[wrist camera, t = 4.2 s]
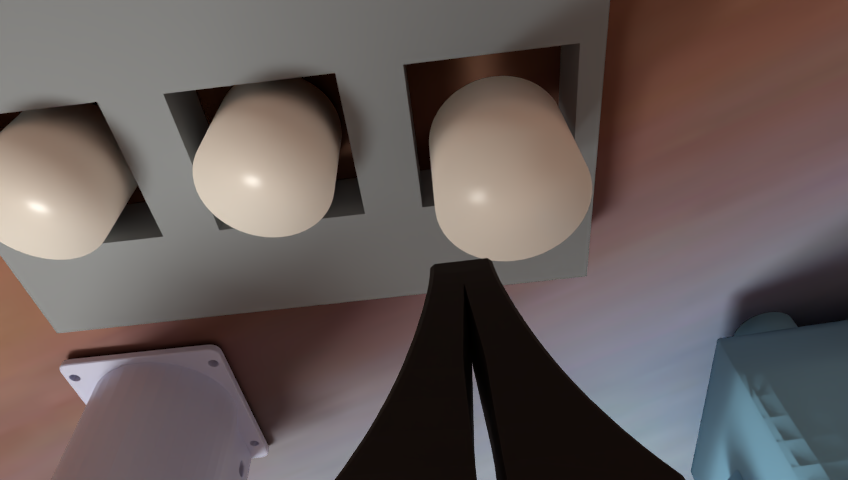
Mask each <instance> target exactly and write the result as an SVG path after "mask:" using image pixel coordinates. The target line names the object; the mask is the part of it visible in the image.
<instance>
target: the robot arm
mask: <svg viewBox="0 0 848 480" xmlns="http://www.w3.org/2000/svg"><path fill="white" fill-rule="evenodd" d="M214 360H215V361H214ZM472 364H473V369H474V373H475V378H476V382H477V386H478V391H479V395H480V400H481V404H482V408H483V413H484V417H485V421H486V426H487V430H488V435H489V439H490V443H491V448H492V453H493V459H494V464H495V471H496V479H497V480H685V478H684V477H683V476H682V475H681V474H680V473H678V472H677V471H676V470H674V469H673V468H671V467H670V466H669V465H667V464H666V463H665V462H663V461H662V460H661V459H659V458H658V457H657V456H655V455H654V454H653V453H651V452H650V451H649V450H648V449H646V448H645V447H644V446H642V445H641V444H640V443H639V442H638V441H636V440H635V439H634V438H633V437H632V436H630V435H629V434H628V433H627V432H626V431H624V430H623V429H622V428H621V427H620V426H619V425H618V424H616V423H615V422H614V421H613V420H612V419H611V418H610V417H609V416H608V415H607V414H606V413H605V412H603V411H602V410H601V409H600V408H599V407H598V406H597V405H596V404H595V403H594V402H593V401H592V400H590V399H589V398H588V397H587V396H586V395H585V393H584V392H583V391H582V390H581V389H580V388H579V387H578V386H577V385H576V384H575V383H574V382H573V381H572V380H571V379H570V378H569V377H568V375H567V374H566V373H565V372H564V371H563V370H562V369H561V368H560V366H559V365H558V364H557V363H556V362H555V361H554V359H553V358H552V357H551V356H550V354H549V353H548V352H547V351H546V349H545V348H544V347H543V346H542V344H541V343H540V342H539V340H538V339H537V338H536V336H535V335H534V334H533V332H532V331H531V329H530V328H529V327H528V325H527V324H526V322H525V321H524V319H523V318H522V316H521V315H520V313H519V312H518V310H517V309H516V307H515V306H514V304H513V302H512V301H511V299H510V297H509V295H508V294H507V292H506V290H505V288H504V287H503V285H502V283H501V281H500V279H499V277H498V275H497V272H496V270H495V268H494V265H493V262H492V261H491V260H490V259H488V258H483V259H474V260H465V261H456V262H447V263H438V264H434V265H433V266H432V267H431V268H430V278H429V285H428V290H427V295H426V299H425V303H424V307H423V310H422V313H421V317H420V320H419V323H418V326H417V329H416V332H415V335H414V338H413V341H412V343H411V346H410V348H409V351H408V353H407V356H406V358H405V361H404V363H403V366H402V368H401V370H400V372H399V375H398V377H397V379H396V381H395V383H394V385H393V387H392V389H391V391H390V393H389V395H388V397H387V399H386V401H385V403H384V405H383V406H382V408H381V410H380V412H379V413H378V415H377V417H376V419H375V421H374V422H373V424H372V426H371V427H370V429H369V431H368V432H367V434H366V435H365V437H364V438H363V440H362V441H361V443H360V444H359V446H358V447H357V449H356V450H355V452H354V453H353V455H352V456H351V458H350V459H349V461H348V462H347V464H346V465H345V467H344V468H343V469H342V471H341V472H340V473H339V475H338V476H337V477H336V479H335V480H477V477H476V468H475V454H474V423H473V382H472ZM60 372H61V373H62V374H63V376H64V377H65V378H66V379H67V381H68V382H69V383H70V385H71V386H72V387H73V389H74V390H75V391H76V392H77V394H78V395H79V396H80V398H81V399H82V400H83V402H84V403H85V404H86V407H85V409H84V411H83V413H82V415H81V418H80V420H79V422H78V424H77V426H76V428H75V430H74V432H73V434H72V436H71V439H70V441H69V443H68V445H67V447H66V449H65V451H64V453H63V455H62V457H61V459H60V462H59V464H58V466H57V468H56V470H55V472H54V474H53V476H52V478H51V480H247V478H248V473H249V468H250V463H251V458H259V457H264V456H266V455H267V454H268V451H269V446H268V444H267V442H266V440H265V438H264V436H263V434H262V432H261V430H260V428H259V426H258V424H257V422H256V420H255V418H254V416H253V413H252V411H251V409H250V407H249V405H248V403H247V401H246V399H245V397H244V395H243V393H242V391H241V389H240V387H239V385H238V383H237V381H236V379H235V377H234V375H233V372H232V370H231V368H230V366H229V364H228V362H227V360H226V358H225V356H224V354H223V352H222V350H221V349H220V348H219V347H218V346H216V345H199V346H190V347H181V348H171V349H162V350H152V351H143V352H133V353H124V354H115V355H105V356H96V357H86V358H77V359H68V360H65V361H63V362H62V364H61V366H60Z"/></svg>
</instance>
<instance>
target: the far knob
mask: <svg viewBox="0 0 848 480" xmlns="http://www.w3.org/2000/svg"><path fill="white" fill-rule="evenodd" d="M137 186H138V184H137V182H136V180H135V178H134V176H133V174H132V172H131V170H130V168H129V166H128V164H127V162H126V160H125V158H124V156H123V154H122V152H121V149H120V147H119V145H118V143H117V141H116V139H115V137H114V135H113V133H112V131H111V129H110V127H109V125H108V123H107V121H106V119H105V117H104V115H103V113H102V111H101V109H100V107H98V106H96V105H93V104H91V103H84V104H76V105H67V106H59V107H51V108H43V109H35V110H26V111H22V112H21V113H20V114H19V115H18V116H17V117H16V118H15V119H14V120H13V121H11V122H10V123H9V124H8V125H7V126H6V127H5V128H4V129H3V130H2V131H1V132H0V242H1V243H3V244H5V245H6V246H8V247H10V248H13V249H15V250H17V251H20V252H22V253H25V254H28V255H31V256H35V257H40V258H45V259H54V260H66V259H74V258H79V257H82V256H85V255H87V254H90V253H91V252H93V251H95V250H96V249H97V248H98V247H99V246H100V245H101V244H102V243H103V242H104V240H105V239H106V237H107V236H108V234H109V232H110V231H111V229H112V227H113V226H114V224H115V222H116V221H117V219H118V217H119V216H120V214H121V212H122V211H123V209H124V207H125V206H126V204H127V202H128V201H129V199H130V197H131V196H132V194H133V192H134V191H135V189H136V188H137Z"/></svg>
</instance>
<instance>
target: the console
mask: <svg viewBox="0 0 848 480" xmlns="http://www.w3.org/2000/svg"><path fill="white" fill-rule="evenodd" d="M609 8H610V0H0V114H2V113H10V112H18V111H26V110H35V109H43V108H51V107H59V106H67V105H76V104H84V103H92V102H97V103H98V105H99V107H100V109H101V111H102V113H103V115H104V117H105V119H106V121H107V123H108V125H109V127H110V129H111V131H112V133H113V135H114V137H115V139H116V141H117V143H118V145H119V147H120V149H121V152H122V154H123V156H124V158H125V160H126V162H127V164H128V166H129V168H130V170H131V172H132V174H133V176H134V178H135V180H136V182H137V184H138V186H139V188H140V190H141V192H142V194H143V196H144V198H145V200H146V202H143V203H134V204H126V206H125V207H124V209H123V211H122V212H121V214H120V216H119V217H118V219H117V221H116V222H115V224H114V226H113V227H112V229H111V231H110V232H109V234H108V236H107V237H106V239H105V240H104V242H103V243H102V244H101V245H100V246H99V247H98V248H97V249H96V250H95V251H93V252H91V253H90V254H87V255H85V256H82V257H79V258H74V259H66V260H54V259H45V258H40V257H35V256H31V255H28V254H25V253H22V252H20V251H17V250H15V249H13V248H10V247H8V246H6V245H5V244H3V243H1V242H0V255H1V257H2V258H3V260H4V261H5V262H6V264H7V265H8V266H9V268H10V269H11V270H12V272H13V273H14V275H15V276H16V277H17V279H18V280H19V281H20V283H21V284H22V286H23V287H24V288H25V290H26V291H27V292H28V294H29V295H30V296H31V298H32V299H33V301H34V302H35V303H36V305H37V306H38V307H39V309H40V310H41V312H42V313H43V314H44V316H45V317H46V318H47V320H48V321H49V323H50V324H51V325H52V327H53V328H54V329H55V331H56V332H57V333H64V332H73V331H83V330H92V329H101V328H111V327H120V326H129V325H138V324H148V323H157V322H166V321H175V320H185V319H194V318H203V317H213V316H222V315H231V314H240V313H250V312H259V311H268V310H278V309H287V308H296V307H305V306H315V305H324V304H333V303H342V302H352V301H361V300H370V299H380V298H389V297H398V296H407V295H417V294H426V293H427V290H428V285H429V278H430V268H431V267H432V266H433V265H434V264H438V263H447V262H456V261H465V260H474V259H482V258H478V257H475V256H473V255H470V254H468V253H466V252H464V251H462V250H461V249H459V248H458V247H456V246H455V245H454V244H453V243H452V242H451V241H450V240H449V239H448V238H447V237H446V236H445V234H444V233H443V231H442V229H441V228H440V226H439V223H438V221H437V217H436V212H435V204H434V193H433V183H432V172H431V169H429V170H421V171H420V167H419V160H418V152H417V145H416V137H415V130H414V122H413V115H412V107H411V100H410V92H409V84H408V77H407V69H406V64H413V63H421V62H429V61H437V60H445V59H454V58H462V57H470V56H478V55H487V54H495V53H503V52H511V51H519V50H528V49H536V48H544V47H552V46H560V45H561V52H560V80H559V109H560V111H561V113H562V115H563V117H564V119H565V121H566V123H567V125H568V128H569V130H570V132H571V134H572V136H573V138H574V140H575V142H576V144H577V146H578V148H579V150H580V152H581V154H582V156H583V158H584V161H585V163H586V165H587V167H588V169H589V172H590V175H591V180H592V197H591V202H590V205H589V208H588V211H587V213H586V215H585V217H584V219H583V220H582V222H581V223H580V225H579V226H578V227H577V229H576V230H575V231H574V232H573V233H572V234H571V235H570V236H569V237H568V238H567V239H566V240H564V241H563V242H562V243H560V244H559V245H557V246H556V247H554V248H552V249H551V250H549V251H547V252H544V253H542V254H540V255H537V256H534V257H531V258H527V259H523V260H516V261H492V260H491V261H492V262H493V265H494V268H495V270H496V272H497V275H498V277H499V279H500V281H501V283H502V285H509V284H519V283H528V282H537V281H547V280H556V279H565V278H574V277H584V276H587V266H588V254H589V243H590V231H591V219H592V207H593V196H594V184H595V172H596V160H597V149H598V137H599V125H600V113H601V102H602V90H603V78H604V66H605V55H606V43H607V31H608V19H609ZM330 73H335V75H336V79H337V84H338V89H339V93H340V98H341V103H342V108H343V112H344V117H345V122H346V126H347V131H348V136H349V141H350V145H351V150H352V155H353V159H354V164H355V169H356V174H357V178H351V179H343V180H336V183H335V190H334V196H333V200H332V203H331V206H330V208H329V210H328V211H327V213H326V214H325V215H324V217H323V218H322V219H321V220H320V221H319V222H318V223H316V224H315V225H314V226H312V227H311V228H309V229H307V230H305V231H303V232H301V233H298V234H295V235H291V236H285V237H261V236H255V235H251V234H247V233H244V232H242V231H239V230H237V229H235V228H232V227H231V226H229V225H227V224H225V223H224V222H222V221H221V220H220V219H218V218H217V217H216V216H215V215H214V214H213V213H212V212H211V211H210V210H209V209H208V208H207V207H206V206H205V204H204V203H203V201H202V200H201V199H200V197H199V195H198V193H197V191H196V188H195V185H194V180H193V161H194V158H195V155H196V152H197V150H198V148H199V146H200V144H201V142H202V140H203V138H204V136H205V134H206V132H207V130H208V128H209V125H208V122H207V120H206V117H205V114H204V112H203V109H202V106H201V104H200V101H199V98H198V96H197V93H196V90H199V89H207V88H215V87H224V86H232V85H240V84H248V83H256V82H265V81H273V80H281V79H289V78H298V77H306V76H314V75H322V74H330Z"/></svg>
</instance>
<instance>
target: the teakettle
mask: <svg viewBox="0 0 848 480" xmlns="http://www.w3.org/2000/svg"><path fill="white" fill-rule="evenodd" d="M691 473H692V475H693V478H694V480H848V320H843V321H836V322H829V323H822V324H815V325H809V326H802V327H797V325H796V324H795V322H794V321H793V319H792V318H791V317H790V316H789V315H787V314H785V313H781V312H768V313H763V314H760V315H757V316H755V317H753V318H750V319H749V320H747V321H746V322H744V323H743V324H742V325H741V326H740V327H739V328H738V329H737V331H736V332H735V335H734V336H733V337H727V338H720V339H718V340H717V345H716V350H715V355H714V360H713V364H712V369H711V375H710V380H709V385H708V390H707V395H706V399H705V404H704V409H703V414H702V419H701V424H700V429H699V434H698V439H697V444H696V448H695V453H694V458H693V463H692V468H691Z"/></svg>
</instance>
